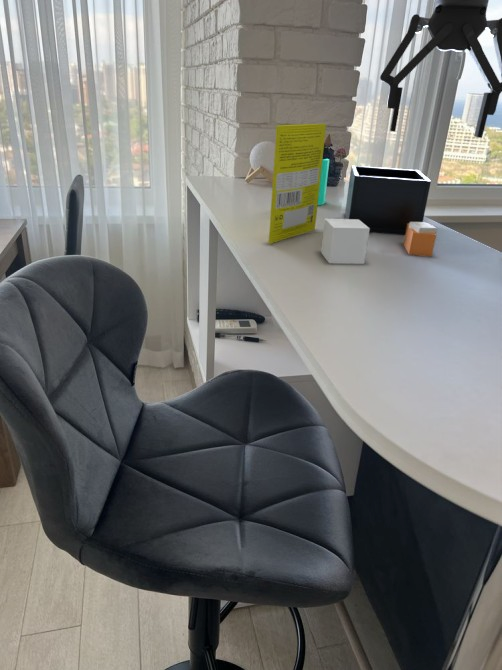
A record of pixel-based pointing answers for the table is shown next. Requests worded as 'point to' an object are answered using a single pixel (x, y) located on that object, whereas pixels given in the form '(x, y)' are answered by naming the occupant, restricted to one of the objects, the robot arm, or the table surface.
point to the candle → (323, 181)
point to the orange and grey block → (420, 238)
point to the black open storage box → (386, 198)
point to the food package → (296, 179)
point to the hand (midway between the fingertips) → (434, 134)
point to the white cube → (344, 241)
